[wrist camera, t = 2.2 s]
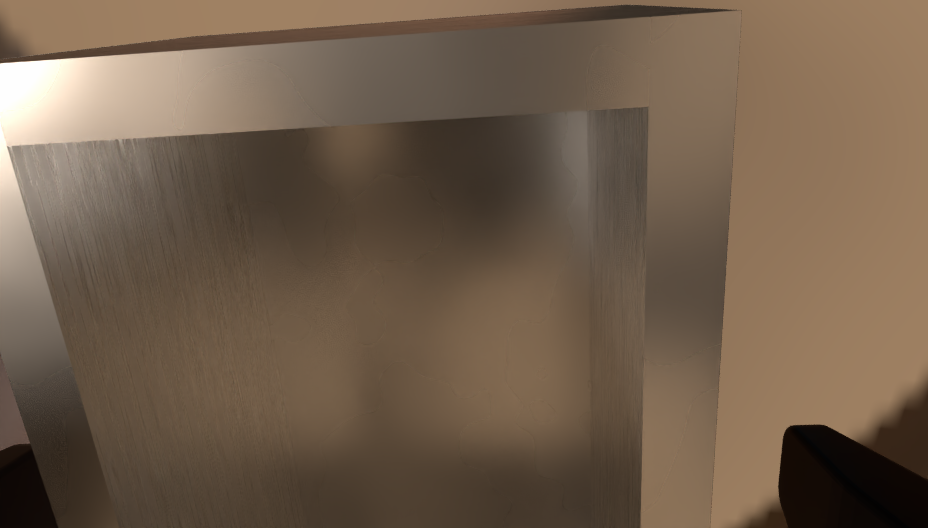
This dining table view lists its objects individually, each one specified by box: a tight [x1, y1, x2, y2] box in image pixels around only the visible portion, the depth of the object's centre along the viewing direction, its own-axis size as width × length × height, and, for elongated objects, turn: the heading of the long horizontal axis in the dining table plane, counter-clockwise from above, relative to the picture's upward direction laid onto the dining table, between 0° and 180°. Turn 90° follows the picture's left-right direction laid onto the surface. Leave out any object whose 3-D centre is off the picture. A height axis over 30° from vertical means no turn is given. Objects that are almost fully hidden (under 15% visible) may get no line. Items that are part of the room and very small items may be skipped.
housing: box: [0, 5, 742, 528], centre depth 9 cm, size 10×6×5 cm, turn 4°
